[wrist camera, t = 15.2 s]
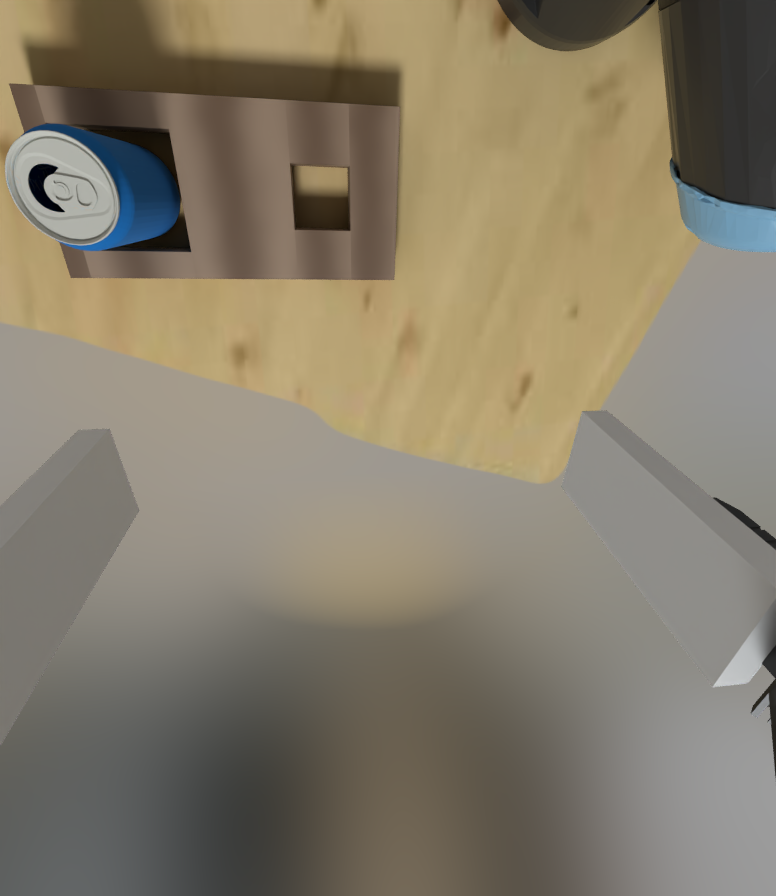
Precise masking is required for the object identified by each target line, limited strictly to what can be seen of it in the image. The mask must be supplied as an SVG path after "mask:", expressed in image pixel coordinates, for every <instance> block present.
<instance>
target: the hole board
mask: <svg viewBox="0 0 776 896" xmlns="http://www.w3.org/2000/svg"><path fill="white" fill-rule="evenodd" d="M9 85H10V88H11V91H12V95H13V98H14V101H15V104H16V107H17V110H18V113H19V117H20V120H21V123H22V126H23V129H24V132H26V131H28V130H30V129H31V128H33V127H36V126H39V125H43V124H63V125H68V126H72V127H75V128H79V129H89V130H110V131H131V132H152V133H170V138H171V144H172V149H173V155H174V160H175V165H176V171H177V176H178V182H179V187H180V193H181V198H182V204H183V209H184V215H185V220H186V226H187V231H188V236H189V242H190V247H191V248H154V247H114V248H110V249H106V250H100V251H85V250H79V249H75V248H72V247H69V246H67V245H65V244H62V243H60V245H61V248H62V251H63V254H64V258H65V261H66V264H67V267H68V270H69V273H70V276H71V278H180V279H328V280H394V275H395V244H396V213H397V183H398V152H399V121H400V107H396V106H379V105H362V104H345V103H328V102H312V101H295V100H278V99H261V98H244V97H228V96H211V95H194V94H177V93H160V92H144V91H127V90H110V89H93V88H76V87H60V86H43V85H26V84H9ZM292 166H317V167H342V168H348V226H349V229H338V228H296V215H295V201H294V187H293V173H292Z"/></svg>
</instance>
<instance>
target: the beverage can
mask: <svg viewBox="0 0 776 896" xmlns="http://www.w3.org/2000/svg"><path fill="white" fill-rule="evenodd" d="M5 176H6V182H7V185H8V189H9V191H10V194H11V196H12V198H13V200H14V202H15V204H16V205H17V207H18V208H19V210H20V211H21V212H22V214H23V215H24V216H25V217H26V218H27V219H28V221H29V222H30V223H31V224H33V225H34V226H35V227H36V228H37V229H39V230H40V231H41V232H43V233H44V234H46V235H48V236H49V237H51V238H53V239H55V240H57V241H58V242H60V243H62V244H65V245H67V246H69V247H72V248H75V249H79V250H85V251H100V250H106V249H110V248H114V247H118V246H122V245H126V244H130V243H135V242H139V241H143V240H147V239H151V238H155V237H158V236H161V235H163V234H165V233H166V232H168V231H169V230H170V229H171V228H172V227H173V225H174V224H175V222H176V220H177V218H178V215H179V210H180V195H179V191H178V187H177V184H176V182H175V180H174V177H173V176H172V174H171V172H170V171H169V169H168V168H167V167H166V165H165V164H164V163H163V162H162V161H161V160H160V159H159V158H158V157H157V156H156V155H154V154H153V153H152V152H150V151H149V150H147V149H145V148H143V147H141V146H138V145H135V144H132V143H128V142H125V141H121V140H118V139H114V138H110V137H107V136H103V135H100V134H96V133H93V132H89V131H86V130H82V129H79V128H75V127H72V126H68V125H63V124H43V125H39V126H36V127H33V128H31V129H30V130H28V131H26V132H25V133H24V134H23V135H22V136H21V137H19V138H18V139H17V140H16V141H15V142H14V143H13V144H12V146H11V147H10V149H9V151H8V154H7V157H6V162H5Z"/></svg>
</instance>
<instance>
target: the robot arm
mask: <svg viewBox="0 0 776 896" xmlns="http://www.w3.org/2000/svg"><path fill="white" fill-rule="evenodd" d="M656 1H657V0H498V2H499V4H500V6H501V7H502V9H503V11H504V12H505V14H506V15H507V17H508V18H509V20H510V21H511V22H512V23H513V25H514V26H515V27H516V28H517V29H518V30H519V31H520V32H521V33H522V34H523V35H525V36H526V37H527V38H529V39H530V40H532V41H533V42H535V43H537V44H539V45H541V46H543V47H546V48H549V49H553V50H559V51H575V50H581V49H585V48H589V47H592V46H594V45H597V44H599V43H601V42H603V41H605V40H607V39H608V38H610V37H612V36H614V35H616V34H617V33H619V32H621V31H623V30H624V29H626V28H627V27H629V26H630V25H631V24H633V23H634V22H635V21H636V20H638V19H639V18H640V17H641V16H642V15H643V14H644V13H645V12H647V11H648V10H649V9H650V8H651V7H652V6H653V4H654V3H655V2H656ZM658 4H659V10H660V11H659V23H660V33H661V44H662V55H663V65H664V76H665V86H666V97H667V108H668V118H669V129H670V139H671V150H672V158H671V160H670V173H671V176H672V178H673V180H674V181H675V183H676V185H677V192H678V198H679V205H680V212H681V217H682V220H683V222H684V224H685V226H686V228H687V229H688V230H690V231H691V232H693V233H694V234H695V235H696V236H697V237H698V238H699V239H700V240H702V241H704V242H706V243H709V244H711V245H714V246H717V247H721V248H726V249H731V250H738V251H750V252H751V251H752V252H776V0H658ZM561 487H562V489H563V490H564V491H565V493H566V494H567V495H568V497H569V498H570V499H571V501H572V502H573V503H574V505H575V506H576V507H577V509H578V510H579V511H580V512H581V514H582V515H583V516H584V518H585V519H586V520H587V522H588V523H589V524H590V526H591V527H592V528H593V530H594V531H595V532H596V534H597V535H598V536H599V538H600V539H601V540H602V542H603V543H604V544H605V546H606V547H607V548H608V550H609V551H610V552H611V553H612V555H613V556H614V557H615V559H616V560H617V561H618V563H619V564H620V565H621V567H622V568H623V569H624V571H625V572H626V573H627V575H628V576H629V577H630V579H631V580H632V581H633V583H634V584H635V585H636V587H637V588H638V589H639V591H640V592H641V593H642V595H643V596H644V597H645V598H646V600H647V601H648V603H649V604H650V605H651V606H652V608H653V609H654V610H655V612H656V613H657V614H658V616H659V617H660V618H661V620H662V621H663V622H664V623H665V625H666V626H667V627H668V629H669V630H670V632H671V633H672V634H673V636H674V637H675V638H676V640H677V641H678V642H679V644H680V645H681V646H682V648H683V649H684V650H685V652H686V653H687V654H688V655H689V657H690V658H691V659H692V661H693V662H694V663H695V665H696V666H697V667H698V669H699V670H700V671H701V673H702V674H703V675H704V677H705V678H706V679H707V681H708V682H709V683H710V685H711V686H712V687H718V686H727V685H736V684H745V683H748V682H749V681H750V680H751V678H752V677H753V676H754V675H755V673H756V672H757V671H758V670H759V668H760V667H761V666H762V664H763V665H764V666H765V667H766V668H767V670H768V671H769V672H770V673H771V674H772V675H773V676H774V677H775V678H776V539H775V538H774V537H773V536H771V535H770V534H769V533H767V532H766V531H765V530H761V529H760V526H759V525H758V524H756V523H755V522H754V521H753V520H751V519H750V518H749V517H748V516H746V515H745V514H744V513H743V512H741V511H740V510H738V509H736V508H734V507H732V506H731V505H729V504H727V503H725V502H723V501H721V500H719V499H717V498H712V497H711V496H710V495H708V494H707V493H706V492H705V491H704V490H702V489H701V488H700V487H699V486H698V485H696V484H695V483H694V482H693V481H692V480H690V479H689V478H688V477H687V476H685V475H684V474H683V473H682V472H681V471H679V470H678V469H677V468H676V467H675V466H673V465H672V464H671V463H670V462H668V461H667V460H666V459H665V458H664V457H662V456H661V455H660V454H659V453H658V452H656V451H655V450H654V449H653V448H652V447H650V446H649V445H648V444H647V443H645V442H644V441H643V440H642V439H641V438H639V437H638V436H637V435H636V434H635V433H633V432H632V431H631V430H630V429H629V428H627V427H626V426H625V425H624V424H623V423H621V422H620V421H619V420H618V419H616V418H615V417H614V416H613V415H612V414H610V413H609V412H608V411H582V414H581V417H580V421H579V425H578V428H577V432H576V435H575V439H574V443H573V446H572V450H571V454H570V457H569V461H568V464H567V468H566V472H565V475H564V479H563V483H562V486H561ZM138 512H139V508H138V505H137V503H136V500H135V497H134V495H133V492H132V489H131V486H130V484H129V481H128V478H127V475H126V472H125V470H124V467H123V464H122V461H121V459H120V456H119V453H118V451H117V448H116V445H115V443H114V439H113V437H112V434H111V431H110V429H92V430H78V431H77V432H76V433H75V434H74V435H73V436H72V437H71V438H70V439H69V440H68V441H67V442H66V443H65V444H64V445H63V446H62V447H61V448H60V449H58V451H56V452H55V453H54V454H53V455H52V456H51V457H50V458H49V459H48V460H47V461H46V462H45V463H44V464H43V465H42V466H41V467H40V468H39V469H38V470H37V471H36V472H35V473H34V474H33V475H32V476H31V477H30V478H29V479H28V480H27V481H26V482H25V483H24V484H23V485H21V487H19V488H18V490H16V491H15V492H14V493H13V494H12V495H11V496H10V497H9V498H8V499H7V500H6V501H5V502H4V503H3V504H2V505H1V506H0V745H1V744H2V742H3V740H4V738H5V737H6V735H7V734H8V732H9V730H10V728H11V727H12V725H13V723H14V722H15V720H16V718H17V717H18V715H19V713H20V712H21V710H22V708H23V707H24V705H25V703H26V701H27V700H28V698H29V696H30V695H31V693H32V691H33V689H34V688H35V686H36V685H37V683H38V681H39V679H40V678H41V676H42V674H43V672H44V671H45V669H46V668H47V666H48V664H49V662H50V661H51V659H52V657H53V656H54V654H55V652H56V651H57V649H58V647H59V645H60V644H61V642H62V640H63V639H64V637H65V635H66V634H67V632H68V630H69V629H70V627H71V625H72V624H73V622H74V620H75V618H76V617H77V615H78V613H79V611H80V610H81V608H82V607H83V605H84V603H85V601H86V600H87V598H88V596H89V595H90V593H91V591H92V590H93V588H94V586H95V585H96V583H97V581H98V579H99V578H100V576H101V574H102V573H103V571H104V569H105V567H106V566H107V564H108V562H109V561H110V559H111V557H112V556H113V554H114V552H115V551H116V549H117V547H118V546H119V544H120V542H121V540H122V539H123V537H124V535H125V534H126V532H127V530H128V529H129V527H130V525H131V523H132V522H133V520H134V518H135V517H136V515H137V513H138ZM766 707H770V716H771V718H770V719H769V720H768V723H770V724H771V728H772V740H773V752H774V763H775V776H776V679H775V680H774V681H773V682H772V684H771V685H770V686H769V687H768V689H767V690H766V691H765V692H764V693H763V694H762V696H761V697H760V698H759V699H758V700H757V701H756V703H755V704H754V705H753V707H752V711H751V715H753V716H755V717H757V718H758V716H759V715H760V714H761V713H762V712H763V711H764V709H765V708H766Z"/></svg>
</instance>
